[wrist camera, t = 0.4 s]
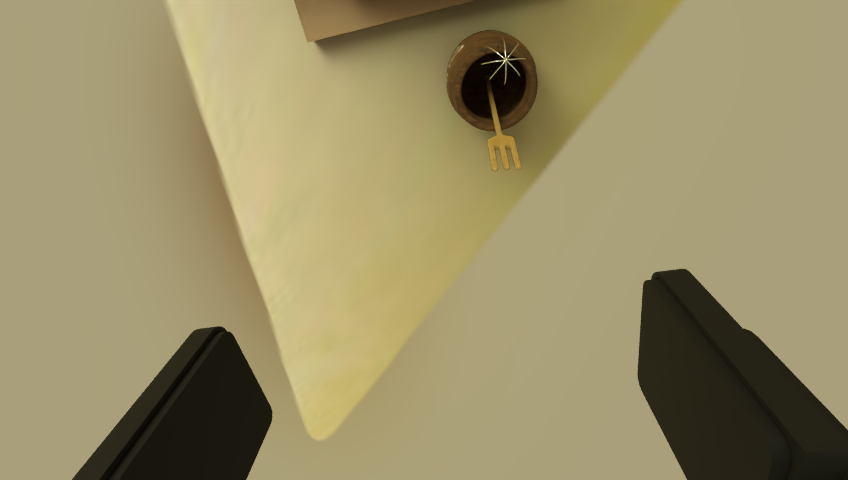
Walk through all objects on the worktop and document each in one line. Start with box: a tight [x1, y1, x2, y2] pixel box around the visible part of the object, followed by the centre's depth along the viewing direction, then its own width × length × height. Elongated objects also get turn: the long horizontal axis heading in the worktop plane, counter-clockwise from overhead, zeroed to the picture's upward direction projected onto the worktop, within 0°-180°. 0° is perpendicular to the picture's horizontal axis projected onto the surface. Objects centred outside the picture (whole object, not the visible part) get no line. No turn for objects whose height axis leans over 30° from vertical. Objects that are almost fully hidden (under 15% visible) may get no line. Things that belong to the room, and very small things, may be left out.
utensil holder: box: [447, 30, 538, 171], centre depth 26 cm, size 6×6×12 cm
